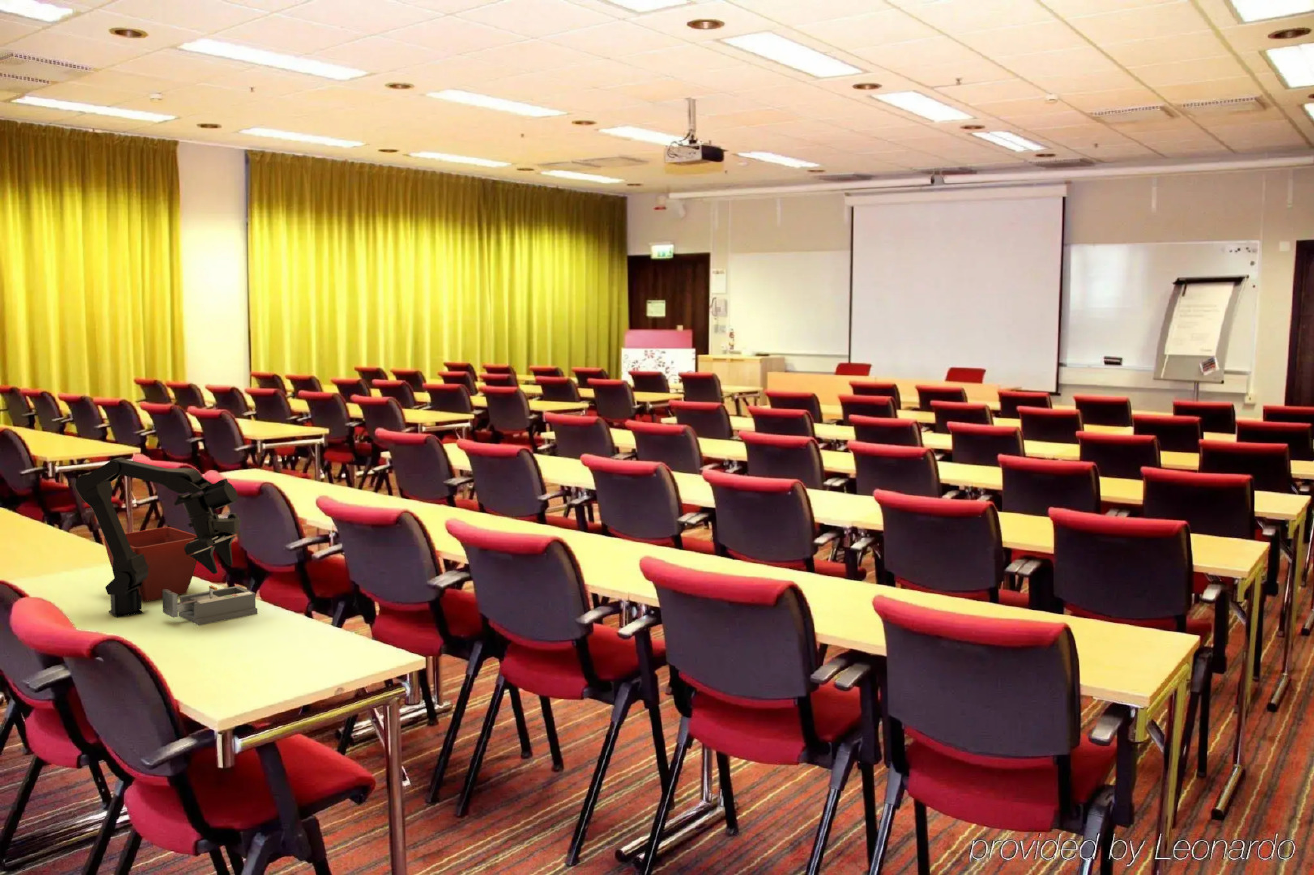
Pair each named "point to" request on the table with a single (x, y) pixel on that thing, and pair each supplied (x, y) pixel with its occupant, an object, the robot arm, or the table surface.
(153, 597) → the plant pot
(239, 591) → the gauge frame
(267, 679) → the table surface
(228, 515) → the robot arm
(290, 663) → the table surface
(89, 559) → the table surface
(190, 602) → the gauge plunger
